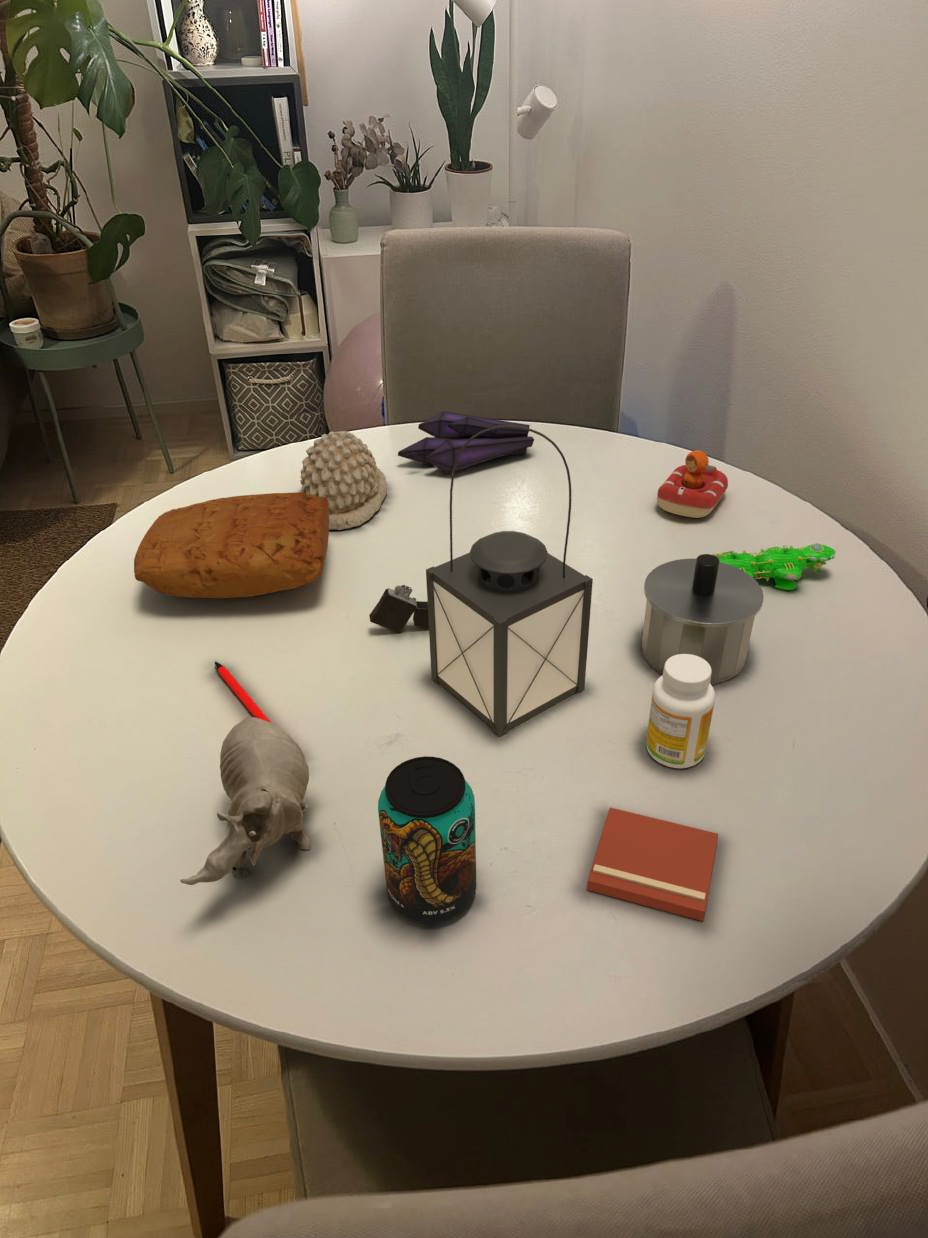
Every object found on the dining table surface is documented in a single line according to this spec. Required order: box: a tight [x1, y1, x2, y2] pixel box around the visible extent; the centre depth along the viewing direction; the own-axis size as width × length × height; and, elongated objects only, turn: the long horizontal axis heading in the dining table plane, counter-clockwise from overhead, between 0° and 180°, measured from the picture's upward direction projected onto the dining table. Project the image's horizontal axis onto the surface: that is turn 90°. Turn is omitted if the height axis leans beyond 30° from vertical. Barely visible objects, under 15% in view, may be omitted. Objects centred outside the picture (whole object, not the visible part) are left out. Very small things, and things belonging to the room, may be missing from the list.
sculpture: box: [299, 430, 388, 531], centre depth 121 cm, size 12×17×10 cm
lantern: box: [425, 426, 594, 737], centre depth 84 cm, size 11×11×28 cm
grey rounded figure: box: [179, 716, 312, 886], centre depth 74 cm, size 8×14×15 cm
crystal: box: [397, 411, 535, 475], centre depth 132 cm, size 7×12×20 cm
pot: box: [641, 599, 756, 685], centre depth 93 cm, size 11×11×8 cm
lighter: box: [368, 584, 429, 634], centre depth 99 cm, size 8×2×5 cm
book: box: [586, 807, 719, 922], centre depth 73 cm, size 9×8×2 cm
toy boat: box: [656, 449, 729, 519], centre depth 119 cm, size 8×12×8 cm, turn 151°
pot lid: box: [643, 553, 764, 628], centre depth 90 cm, size 12×12×5 cm
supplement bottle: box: [645, 654, 716, 769], centre depth 81 cm, size 5×5×10 cm
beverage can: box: [377, 755, 478, 924], centre depth 68 cm, size 7×7×12 cm
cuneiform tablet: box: [133, 491, 330, 599], centre depth 107 cm, size 22×17×8 cm
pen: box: [214, 660, 272, 723], centre depth 89 cm, size 1×19×1 cm, turn 36°
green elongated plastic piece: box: [711, 542, 836, 591], centre depth 105 cm, size 7×18×4 cm, turn 99°
